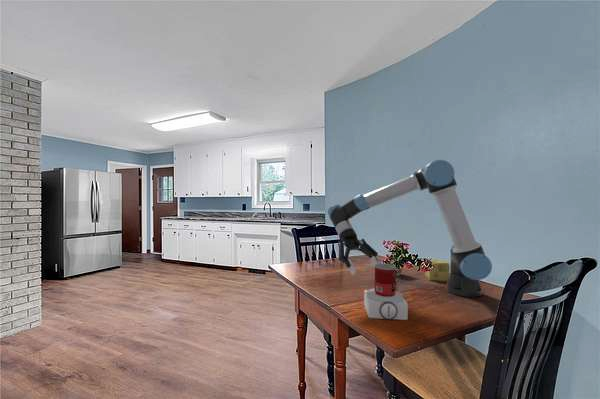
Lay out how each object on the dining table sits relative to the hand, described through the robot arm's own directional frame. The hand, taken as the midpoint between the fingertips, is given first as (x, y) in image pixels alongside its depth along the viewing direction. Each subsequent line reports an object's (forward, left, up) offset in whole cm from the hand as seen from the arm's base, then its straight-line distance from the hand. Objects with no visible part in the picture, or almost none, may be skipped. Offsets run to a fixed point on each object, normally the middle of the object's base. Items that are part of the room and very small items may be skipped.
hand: (367, 271), depth 125 cm
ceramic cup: (-25, -51, -13) cm, 58 cm away
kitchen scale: (-6, +9, -13) cm, 17 cm away
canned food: (-6, +9, -6) cm, 12 cm away
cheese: (-45, -45, -14) cm, 65 cm away
